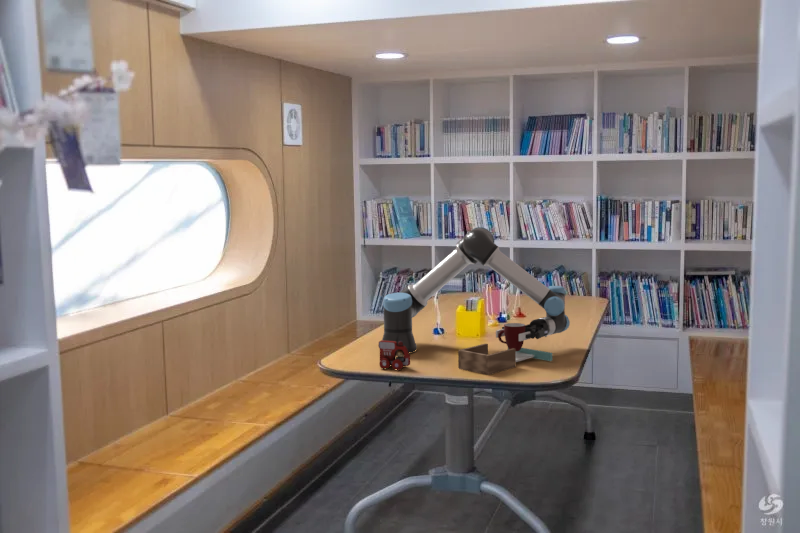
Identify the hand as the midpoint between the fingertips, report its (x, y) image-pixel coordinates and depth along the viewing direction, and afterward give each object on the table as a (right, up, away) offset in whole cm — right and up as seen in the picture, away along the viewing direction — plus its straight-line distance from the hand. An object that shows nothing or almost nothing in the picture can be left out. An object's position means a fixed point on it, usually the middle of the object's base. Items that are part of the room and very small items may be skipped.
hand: (507, 335), depth 306 cm
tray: (+4, -9, +1) cm, 10 cm away
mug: (+2, -6, +2) cm, 7 cm away
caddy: (-9, -11, -8) cm, 16 cm away
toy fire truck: (-43, -12, -5) cm, 45 cm away
